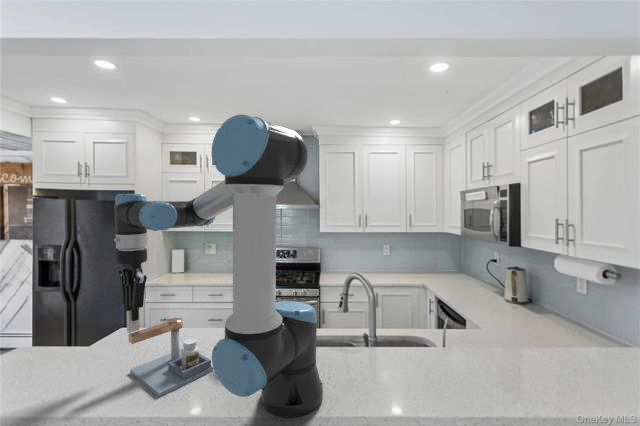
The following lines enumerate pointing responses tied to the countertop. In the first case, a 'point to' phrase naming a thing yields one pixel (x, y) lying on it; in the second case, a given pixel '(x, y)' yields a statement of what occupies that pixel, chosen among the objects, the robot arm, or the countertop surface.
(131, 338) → the lever
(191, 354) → the pill bottle
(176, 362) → the board
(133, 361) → the countertop surface
